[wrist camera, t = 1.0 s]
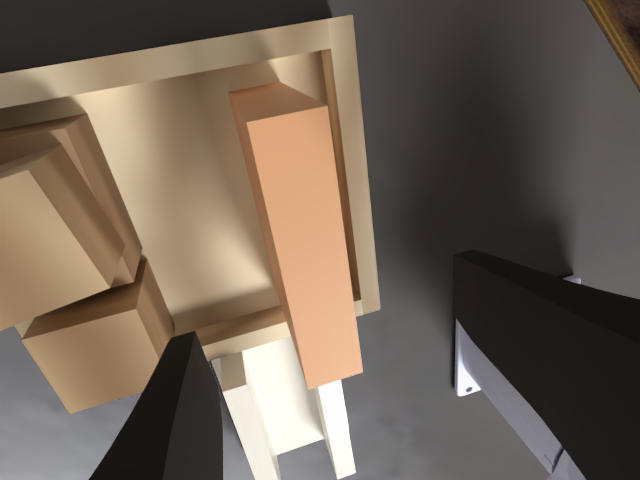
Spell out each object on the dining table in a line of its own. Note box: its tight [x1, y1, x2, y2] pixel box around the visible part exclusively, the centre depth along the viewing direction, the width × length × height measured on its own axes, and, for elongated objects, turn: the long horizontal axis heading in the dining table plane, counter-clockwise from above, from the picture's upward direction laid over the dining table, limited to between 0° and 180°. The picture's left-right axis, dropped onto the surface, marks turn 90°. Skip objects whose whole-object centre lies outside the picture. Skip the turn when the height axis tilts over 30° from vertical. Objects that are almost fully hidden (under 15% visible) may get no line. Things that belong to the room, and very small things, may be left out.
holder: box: [211, 336, 356, 480], centre depth 24 cm, size 7×10×4 cm
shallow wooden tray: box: [0, 15, 380, 361], centre depth 18 cm, size 16×14×2 cm
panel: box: [228, 82, 363, 390], centre depth 16 cm, size 2×10×7 cm, turn 8°
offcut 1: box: [0, 113, 143, 288], centre depth 15 cm, size 4×6×3 cm, turn 8°
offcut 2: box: [0, 144, 125, 331], centre depth 13 cm, size 4×4×3 cm
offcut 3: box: [21, 259, 175, 414], centre depth 17 cm, size 4×4×4 cm
